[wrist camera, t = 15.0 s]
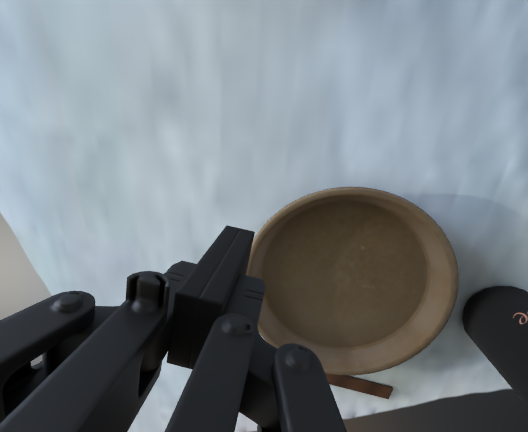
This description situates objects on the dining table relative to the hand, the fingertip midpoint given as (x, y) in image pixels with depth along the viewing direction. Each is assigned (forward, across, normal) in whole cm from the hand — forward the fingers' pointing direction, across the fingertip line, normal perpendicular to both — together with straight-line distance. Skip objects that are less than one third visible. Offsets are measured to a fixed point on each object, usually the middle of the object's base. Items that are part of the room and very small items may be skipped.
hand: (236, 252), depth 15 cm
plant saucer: (+30, +14, -14) cm, 36 cm away
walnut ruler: (+29, +13, -34) cm, 47 cm away
